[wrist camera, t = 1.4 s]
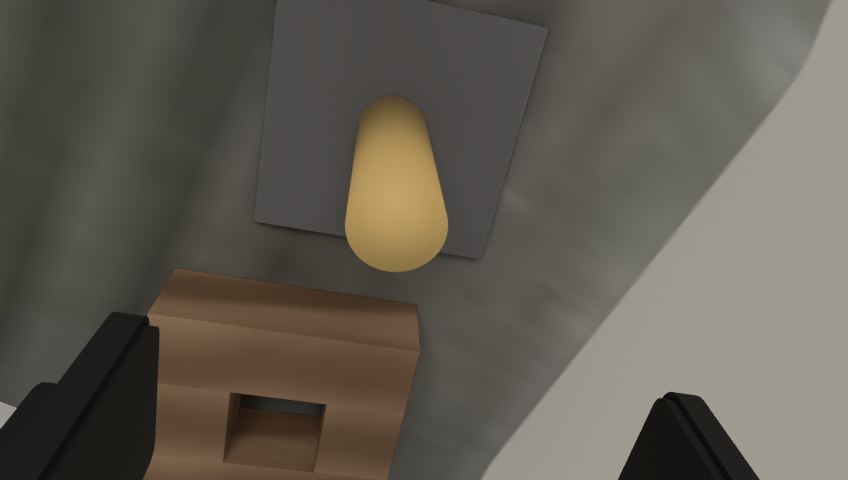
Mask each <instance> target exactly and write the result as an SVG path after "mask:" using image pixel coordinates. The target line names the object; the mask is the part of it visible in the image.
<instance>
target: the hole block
mask: <svg viewBox="0 0 848 480" xmlns="http://www.w3.org/2000/svg"><path fill="white" fill-rule="evenodd" d="M147 317H148V318H149V321H150V325H151V326H158V327H159V330H160V338H159V362H158V387H157V411H156V435H155V447H154V452H153V456H152V459H151V462H150V465H149V467H148V469H147V471H146V473H145V476H144V479H143V480H387V478H388V474H389V470H390V466H391V462H392V458H393V455H394V451H395V447H396V443H397V439H398V436H399V432H400V428H401V424H402V420H403V416H404V413H405V409H406V405H407V401H408V397H409V394H410V390H411V386H412V382H413V378H414V374H415V371H416V367H417V363H418V359H419V355H420V342H419V331H418V319H417V308H416V305H414V304H407V303H401V302H394V301H388V300H381V299H375V298H368V297H362V296H355V295H348V294H342V293H335V292H329V291H322V290H316V289H309V288H303V287H296V286H290V285H283V284H277V283H270V282H264V281H257V280H250V279H244V278H237V277H231V276H224V275H218V274H211V273H205V272H198V271H192V270H185V269H179V268H176V269H175V270H174V272H173V274H172V275H171V277H170V278H169V280H168V282H167V283H166V285H165V286H164V288H163V290H162V291H161V293H160V294H159V296H158V298H157V299H156V301H155V302H154V304H153V306H152V307H151V309H150V310H149V312H148V316H147ZM241 394H248V395H256V396H264V397H272V398H280V399H288V400H296V401H304V402H312V403H320V404H323V410H322V415H321V417H319V416H310V415H302V414H294V413H286V412H278V411H270V410H261V409H253V408H245V407H240V402H241Z"/></svg>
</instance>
